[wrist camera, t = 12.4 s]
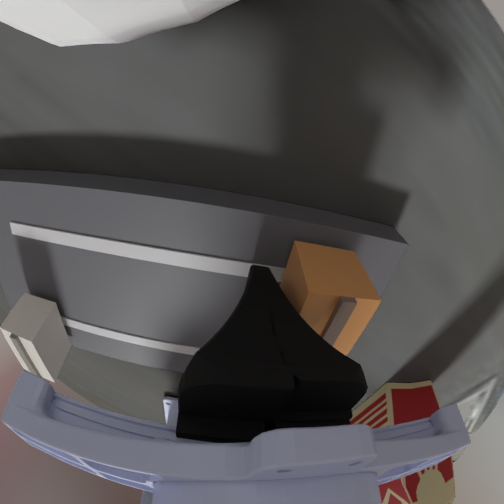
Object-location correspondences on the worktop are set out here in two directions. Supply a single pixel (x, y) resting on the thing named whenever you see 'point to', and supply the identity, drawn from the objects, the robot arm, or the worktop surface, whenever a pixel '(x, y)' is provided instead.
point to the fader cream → (37, 336)
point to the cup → (102, 18)
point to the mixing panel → (158, 256)
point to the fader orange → (330, 292)
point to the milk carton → (402, 411)
